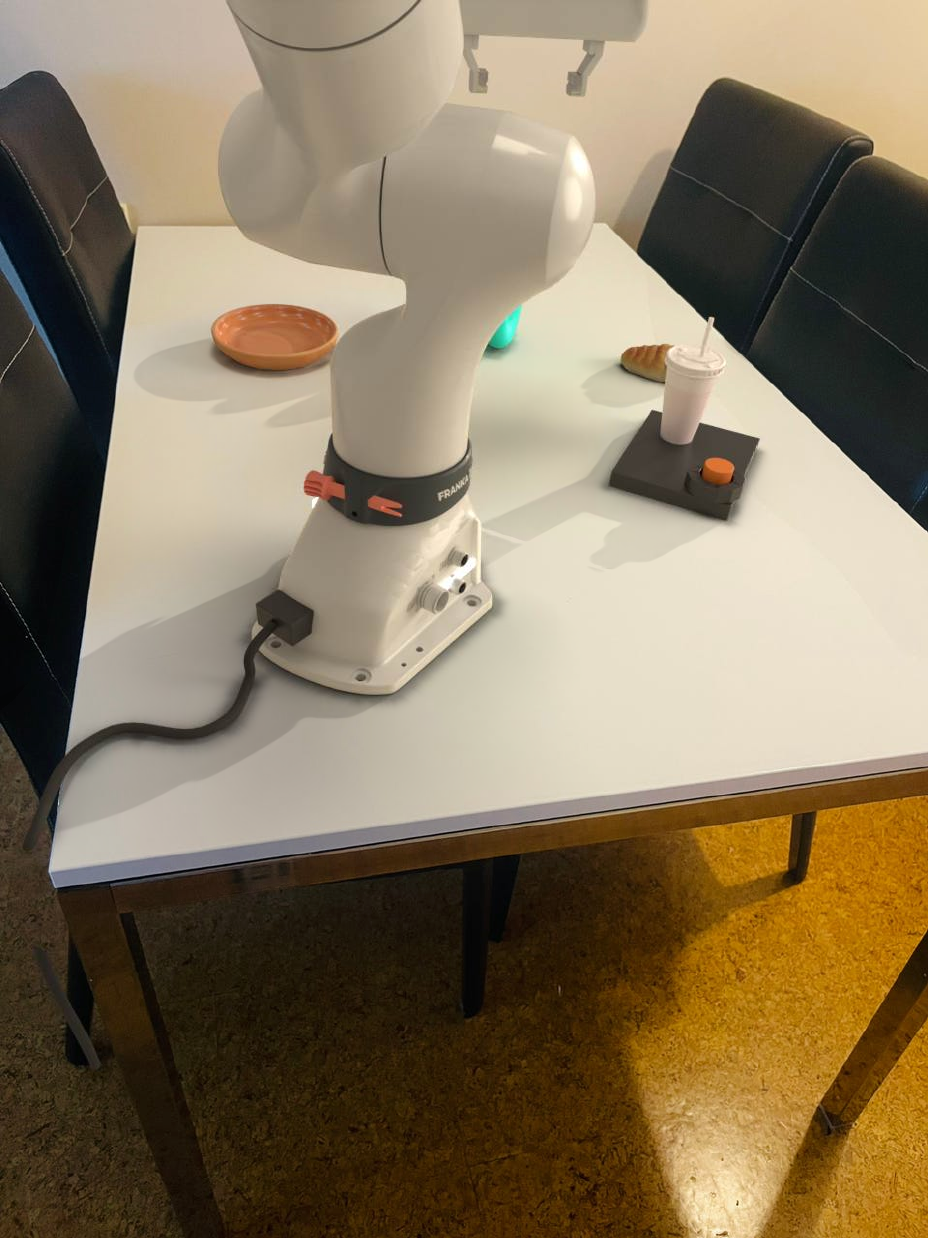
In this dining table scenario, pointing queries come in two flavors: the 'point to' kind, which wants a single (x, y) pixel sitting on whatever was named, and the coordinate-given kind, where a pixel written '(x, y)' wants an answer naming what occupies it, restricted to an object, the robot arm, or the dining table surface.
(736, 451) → the scale
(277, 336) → the saucer
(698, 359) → the smoothie
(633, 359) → the pastry
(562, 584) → the dining table surface
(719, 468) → the button
